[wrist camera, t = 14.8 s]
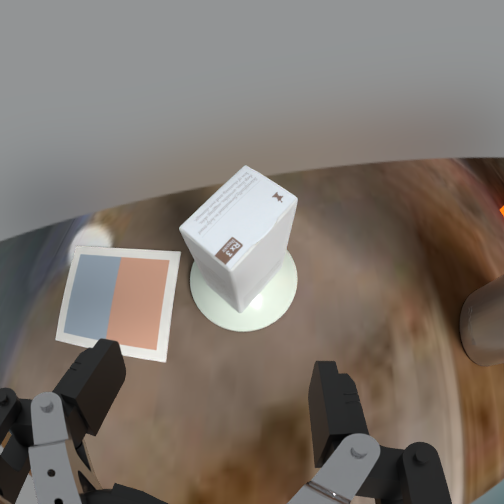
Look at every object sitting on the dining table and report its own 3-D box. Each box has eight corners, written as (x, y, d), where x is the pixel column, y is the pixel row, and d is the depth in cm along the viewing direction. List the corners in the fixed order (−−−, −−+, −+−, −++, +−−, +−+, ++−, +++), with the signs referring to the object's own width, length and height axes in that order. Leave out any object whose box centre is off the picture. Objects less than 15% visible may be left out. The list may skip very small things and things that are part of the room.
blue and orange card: (181, 252, 30) (180, 251, 30) (166, 362, 25) (165, 362, 25) (77, 246, 30) (76, 245, 30) (56, 340, 26) (55, 339, 26)
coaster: (296, 235, 30) (297, 232, 30) (295, 334, 26) (296, 333, 26) (198, 231, 31) (197, 227, 30) (185, 327, 27) (183, 325, 26)
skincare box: (248, 241, 29) (244, 157, 18) (284, 269, 28) (302, 194, 17) (204, 288, 27) (171, 222, 16) (241, 319, 26) (231, 271, 15)
